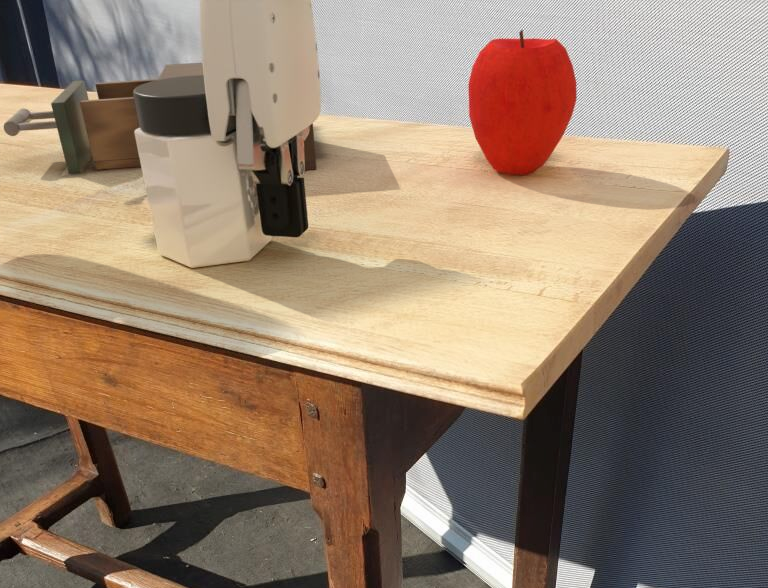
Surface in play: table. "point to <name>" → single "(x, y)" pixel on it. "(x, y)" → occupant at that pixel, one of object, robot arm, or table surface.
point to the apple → (521, 101)
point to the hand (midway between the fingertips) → (285, 232)
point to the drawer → (90, 125)
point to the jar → (193, 178)
